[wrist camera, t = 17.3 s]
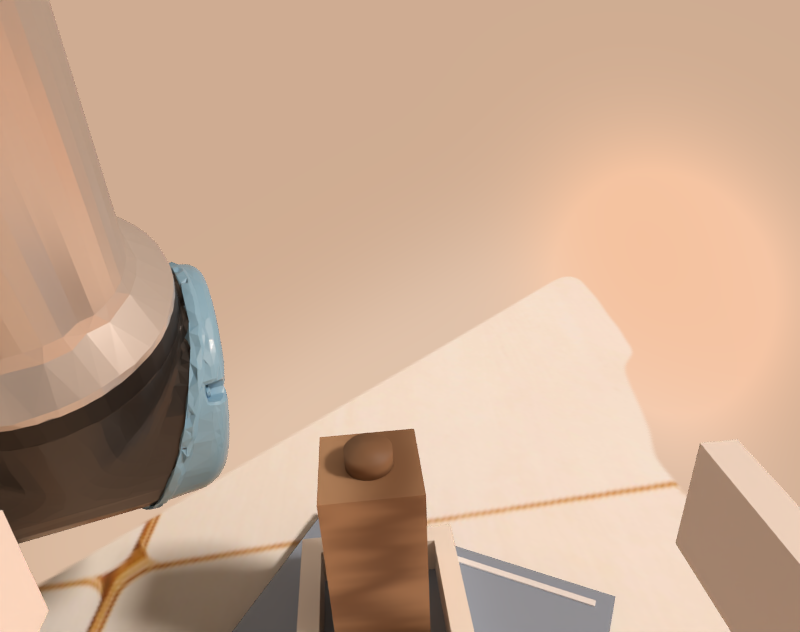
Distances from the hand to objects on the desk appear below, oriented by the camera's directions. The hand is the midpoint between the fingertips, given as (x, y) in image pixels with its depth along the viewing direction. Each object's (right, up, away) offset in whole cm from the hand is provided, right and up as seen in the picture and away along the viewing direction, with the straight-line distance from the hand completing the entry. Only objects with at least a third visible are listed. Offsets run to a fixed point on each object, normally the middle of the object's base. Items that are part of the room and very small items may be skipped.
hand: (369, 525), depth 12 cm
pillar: (0, -14, +24) cm, 27 cm away
